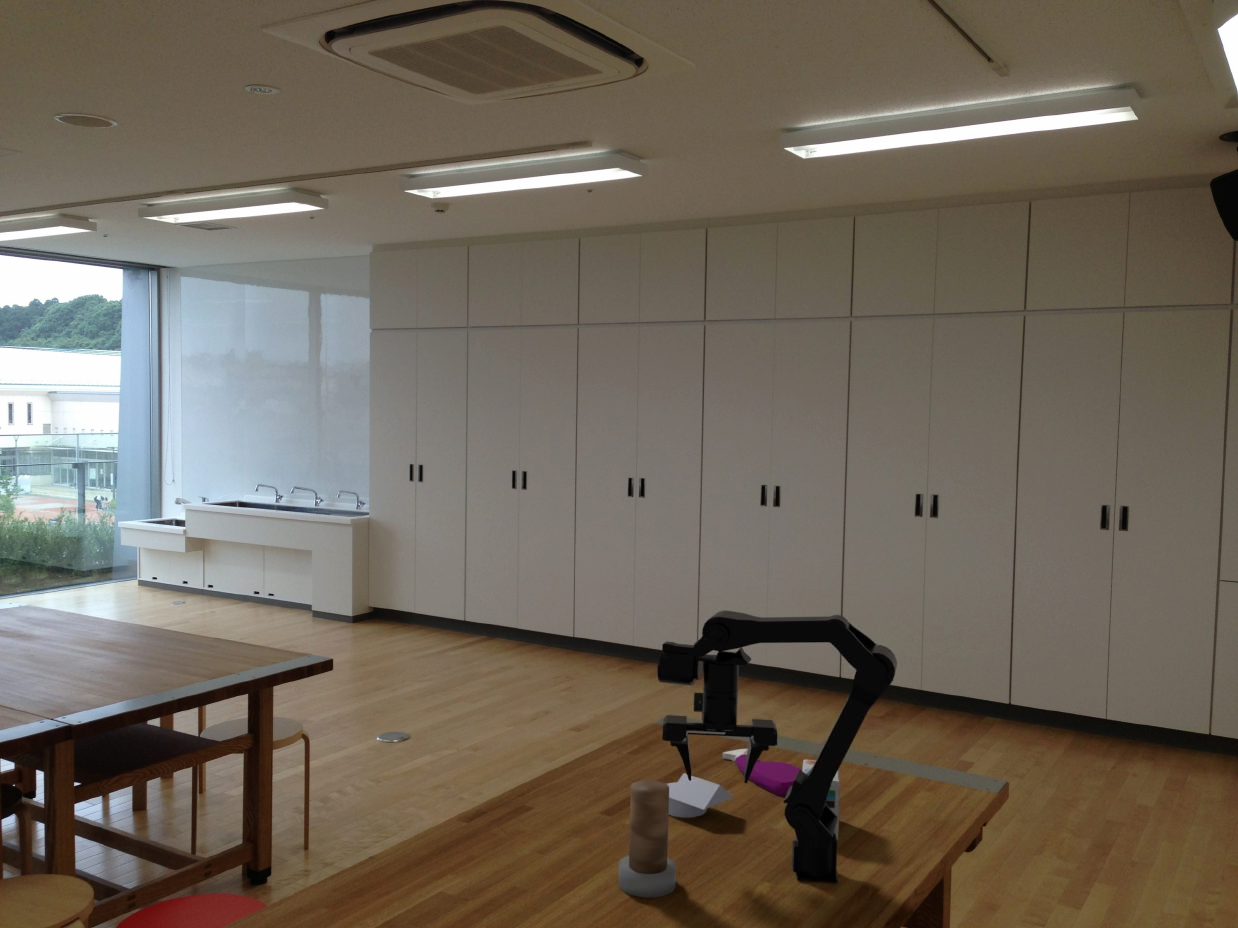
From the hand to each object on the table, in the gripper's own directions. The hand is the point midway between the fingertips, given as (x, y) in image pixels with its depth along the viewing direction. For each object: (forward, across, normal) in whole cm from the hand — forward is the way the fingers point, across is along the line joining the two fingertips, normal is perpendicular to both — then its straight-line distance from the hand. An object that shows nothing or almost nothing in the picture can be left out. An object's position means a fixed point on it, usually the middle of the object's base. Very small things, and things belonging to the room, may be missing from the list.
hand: (717, 781), depth 171 cm
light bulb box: (+13, -19, -15) cm, 28 cm away
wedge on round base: (+13, +4, -20) cm, 24 cm away
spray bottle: (+14, -11, -42) cm, 46 cm away
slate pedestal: (+13, +11, +11) cm, 20 cm away
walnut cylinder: (+10, +11, +11) cm, 18 cm away
